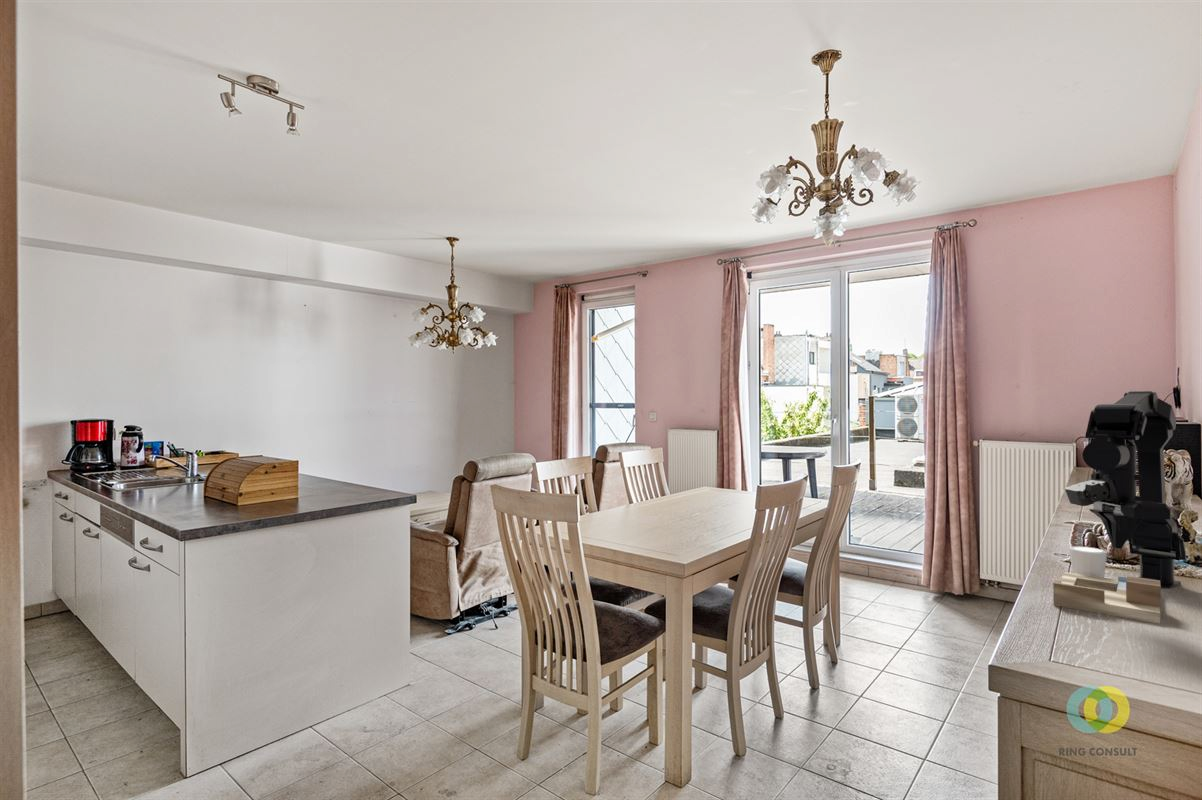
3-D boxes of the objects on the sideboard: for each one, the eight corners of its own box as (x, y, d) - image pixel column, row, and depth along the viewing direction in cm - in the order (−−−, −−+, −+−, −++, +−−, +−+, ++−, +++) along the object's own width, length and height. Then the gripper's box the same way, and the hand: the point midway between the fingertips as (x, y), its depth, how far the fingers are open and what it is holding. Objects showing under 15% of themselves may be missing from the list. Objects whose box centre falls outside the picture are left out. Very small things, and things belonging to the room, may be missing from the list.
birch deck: (1064, 580, 140) (1064, 561, 140) (1158, 594, 129) (1158, 573, 129) (1053, 605, 124) (1053, 583, 124) (1160, 623, 113) (1159, 599, 113)
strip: (1118, 588, 134) (1118, 575, 134) (1158, 594, 130) (1158, 581, 130) (1117, 596, 128) (1117, 583, 129) (1159, 603, 124) (1158, 589, 124)
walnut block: (1127, 595, 123) (1126, 575, 123) (1160, 600, 120) (1160, 580, 120) (1126, 601, 119) (1126, 581, 119) (1160, 607, 116) (1160, 586, 116)
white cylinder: (1114, 584, 137) (1114, 553, 137) (1079, 582, 138) (1079, 552, 138) (1096, 575, 144) (1095, 546, 144) (1063, 574, 145) (1063, 545, 145)
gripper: (1043, 463, 129) (1043, 537, 129) (1106, 472, 111) (1107, 558, 110) (1100, 464, 128) (1100, 538, 128) (1173, 473, 110) (1174, 560, 109)
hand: (1117, 548), depth 119 cm, fingers closed
